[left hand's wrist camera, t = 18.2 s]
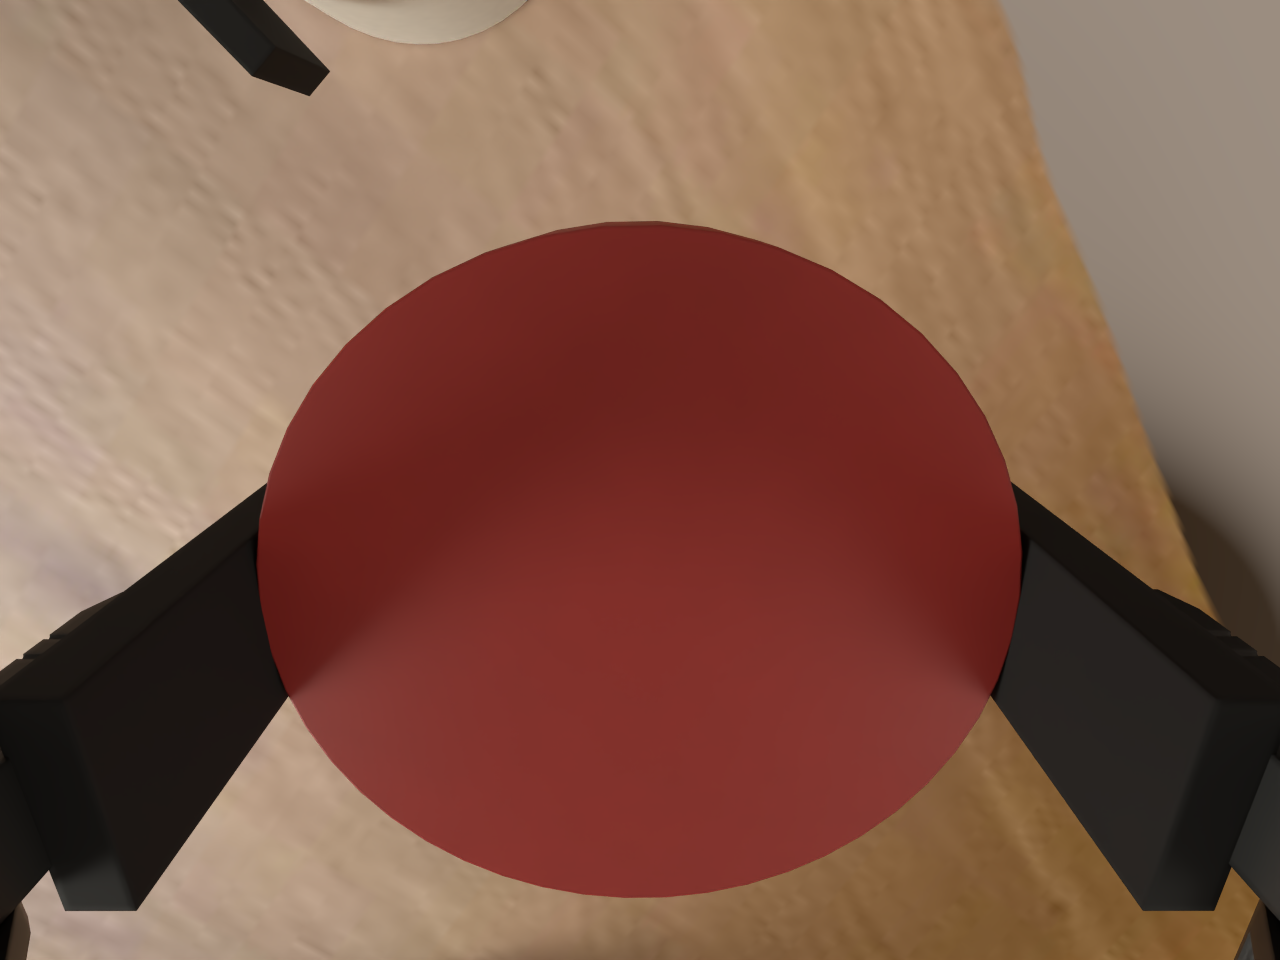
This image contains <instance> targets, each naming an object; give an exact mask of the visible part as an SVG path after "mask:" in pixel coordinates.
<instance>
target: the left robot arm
mask: <svg viewBox="0 0 1280 960" xmlns="http://www.w3.org/2000/svg"><path fill="white" fill-rule="evenodd" d="M1011 485H1012V488H1013V492H1014V496H1015V500H1016V503H1017V508H1018V517H1019V526H1020V536H1021V545H1022V572H1021V595H1020V600H1019V605H1018V610H1017V615H1016V619H1015V624H1014V629H1013V634H1012V638H1011V643H1010V647H1009V650H1008V653H1007V656H1006V659H1005V662H1004V665H1003V667H1002V670H1001V673H1000V676H999V679H998V681H997V683H996V685H995V687H994V689H993V691H992V693H991V697H992V698H993V700H994V701H995V702H996V704H997V705H998V707H999V708H1000V709H1001V711H1002V712H1003V714H1004V715H1005V717H1006V718H1007V719H1008V721H1009V722H1010V724H1011V725H1012V726H1013V728H1014V729H1015V731H1016V732H1017V733H1018V735H1019V736H1020V738H1021V739H1022V741H1023V742H1024V743H1025V745H1026V746H1027V748H1028V749H1029V750H1030V752H1031V753H1032V755H1033V756H1034V757H1035V759H1036V760H1037V762H1038V763H1039V765H1040V766H1041V767H1042V769H1043V770H1044V772H1045V773H1046V774H1047V776H1048V777H1049V779H1050V780H1051V782H1052V783H1053V784H1054V786H1055V787H1056V789H1057V790H1058V791H1059V793H1060V794H1061V796H1062V797H1063V798H1064V800H1065V801H1066V803H1067V804H1068V806H1069V807H1070V808H1071V810H1072V811H1073V813H1074V814H1075V815H1076V817H1077V818H1078V820H1079V821H1080V822H1081V824H1082V825H1083V827H1084V828H1085V830H1086V831H1087V832H1088V834H1089V835H1090V837H1091V838H1092V839H1093V841H1094V842H1095V844H1096V845H1097V846H1098V848H1099V849H1100V851H1101V852H1102V854H1103V855H1104V856H1105V858H1106V859H1107V861H1108V862H1109V863H1110V865H1111V866H1112V868H1113V869H1114V871H1115V872H1116V873H1117V875H1118V876H1119V878H1120V879H1121V880H1122V882H1123V883H1124V885H1125V886H1126V887H1127V889H1128V890H1129V892H1130V893H1131V895H1132V896H1133V897H1134V899H1135V900H1136V902H1137V903H1138V904H1139V906H1140V907H1141V909H1142V910H1143V911H1214V910H1215V907H1216V905H1217V902H1218V900H1219V897H1220V895H1221V892H1222V890H1223V887H1224V885H1225V882H1226V880H1227V877H1228V875H1229V872H1230V870H1231V867H1232V868H1233V869H1234V870H1235V871H1236V872H1237V873H1238V875H1239V876H1240V877H1241V878H1242V879H1243V880H1244V881H1245V882H1246V884H1247V885H1248V886H1249V887H1250V888H1251V889H1252V890H1253V891H1254V893H1255V894H1256V895H1257V896H1258V897H1259V898H1260V900H1259V902H1258V904H1257V907H1256V909H1255V911H1254V914H1253V916H1252V919H1251V921H1250V923H1249V926H1248V928H1247V930H1246V933H1245V935H1244V937H1243V940H1242V942H1241V944H1240V947H1239V949H1238V951H1237V954H1236V956H1235V959H1234V960H1280V668H1279V667H1278V666H1277V665H1275V664H1274V663H1273V662H1271V661H1270V660H1268V659H1267V658H1266V657H1264V656H1258V655H1257V651H1256V650H1255V649H1253V648H1252V647H1251V646H1249V645H1248V644H1247V643H1245V642H1244V641H1242V640H1241V639H1240V638H1238V637H1236V636H1231V634H1230V631H1229V630H1227V629H1226V628H1225V627H1223V626H1222V625H1221V624H1219V623H1218V622H1216V621H1215V620H1214V619H1212V618H1211V617H1210V616H1208V615H1207V614H1205V613H1204V612H1203V611H1201V610H1200V609H1198V608H1196V607H1194V606H1192V605H1190V604H1188V603H1186V602H1183V601H1181V600H1179V599H1177V598H1175V597H1173V596H1171V595H1169V594H1166V593H1164V592H1162V591H1160V590H1158V589H1152V588H1150V587H1149V586H1148V585H1146V584H1145V583H1144V582H1142V581H1141V580H1140V579H1138V578H1137V577H1136V576H1134V575H1133V574H1132V573H1130V572H1129V571H1128V570H1127V569H1125V568H1124V567H1123V566H1121V565H1120V564H1119V563H1117V562H1116V561H1115V560H1113V559H1112V558H1111V557H1109V556H1108V555H1107V554H1105V553H1104V552H1103V551H1102V550H1100V549H1099V548H1098V547H1096V546H1095V545H1094V544H1092V543H1091V542H1090V541H1088V540H1087V539H1086V538H1084V537H1083V536H1082V535H1080V534H1079V533H1078V532H1076V531H1075V530H1074V529H1073V528H1071V527H1070V526H1069V525H1067V524H1066V523H1065V522H1063V521H1062V520H1061V519H1059V518H1058V517H1057V516H1055V515H1054V514H1053V513H1051V512H1050V511H1049V510H1047V509H1046V508H1045V507H1044V506H1042V505H1041V504H1040V503H1038V502H1037V501H1036V500H1034V499H1033V498H1032V497H1030V496H1029V495H1028V494H1026V493H1025V492H1024V491H1022V490H1021V489H1020V488H1018V487H1017V486H1016V485H1015V484H1013V483H1012V482H1011ZM266 487H267V483H266V484H265V485H264V486H262V487H261V488H260V489H258V490H257V491H256V492H254V493H253V494H252V495H250V496H249V497H248V498H247V499H245V500H244V501H243V502H241V503H240V504H239V505H237V506H236V507H235V508H233V509H232V510H231V511H229V512H228V513H227V514H225V515H224V516H223V517H221V518H220V519H219V520H218V521H216V522H215V523H214V524H212V525H211V526H210V527H208V528H207V529H206V530H204V531H203V532H202V533H200V534H199V535H198V536H196V537H195V538H194V539H192V540H191V541H190V542H189V543H187V544H186V545H185V546H183V547H182V548H181V549H179V550H178V551H177V552H175V553H174V554H173V555H171V556H170V557H169V558H167V559H166V560H165V561H163V562H162V563H161V564H160V565H158V566H157V567H156V568H154V569H153V570H152V571H150V572H149V573H148V574H146V575H145V576H144V577H142V578H141V579H140V580H138V581H137V582H136V583H134V584H133V585H132V586H131V587H129V588H128V589H127V590H125V591H124V592H122V593H119V594H117V595H115V596H113V597H111V598H109V599H107V600H105V601H103V602H100V603H98V604H96V605H94V606H92V607H90V608H88V609H86V610H84V611H81V612H80V613H79V614H77V615H76V616H75V617H73V618H72V619H70V620H69V621H68V622H66V623H65V624H64V625H62V626H61V627H60V628H58V629H57V630H55V631H54V632H53V633H51V634H50V638H49V639H43V640H42V641H41V642H39V643H38V644H36V645H35V646H34V647H32V648H31V649H30V650H28V651H27V652H26V653H24V654H23V659H16V660H15V661H13V662H12V663H11V664H9V665H8V666H7V667H5V668H4V669H3V670H1V671H0V960H26V958H27V952H28V946H29V939H30V933H31V932H30V926H29V921H28V916H27V914H26V911H25V909H24V907H23V904H22V902H21V901H22V900H23V899H24V898H25V896H26V895H27V894H28V893H29V892H30V891H31V890H32V888H33V887H34V886H35V885H36V884H37V883H38V882H39V881H40V879H41V878H42V877H43V876H44V875H45V874H46V873H47V871H48V870H49V871H50V874H51V876H52V879H53V881H54V884H55V886H56V889H57V891H58V894H59V896H60V899H61V902H62V904H63V907H64V909H65V911H137V909H138V908H139V907H140V905H141V904H142V902H143V901H144V899H145V898H146V897H147V895H148V894H149V892H150V891H151V890H152V888H153V887H154V885H155V884H156V883H157V881H158V880H159V878H160V877H161V875H162V874H163V873H164V871H165V870H166V868H167V867H168V866H169V864H170V863H171V861H172V860H173V859H174V857H175V856H176V854H177V853H178V851H179V850H180V849H181V847H182V846H183V844H184V843H185V842H186V840H187V839H188V837H189V836H190V834H191V833H192V832H193V830H194V829H195V827H196V826H197V825H198V823H199V822H200V820H201V819H202V818H203V816H204V815H205V813H206V812H207V810H208V809H209V808H210V806H211V805H212V803H213V802H214V801H215V799H216V798H217V796H218V795H219V794H220V792H221V791H222V789H223V788H224V786H225V785H226V784H227V782H228V781H229V779H230V778H231V777H232V775H233V774H234V772H235V771H236V770H237V768H238V767H239V765H240V764H241V762H242V761H243V760H244V758H245V757H246V755H247V754H248V753H249V751H250V750H251V748H252V747H253V746H254V744H255V743H256V741H257V740H258V738H259V737H260V736H261V734H262V733H263V731H264V730H265V729H266V727H267V726H268V724H269V723H270V722H271V720H272V719H273V717H274V716H275V714H276V713H277V712H278V710H279V709H280V707H281V706H282V705H283V703H284V702H285V700H286V699H287V697H288V694H287V692H286V690H285V688H284V685H283V683H282V680H281V677H280V675H279V672H278V670H277V667H276V665H275V662H274V660H273V657H272V653H271V649H270V644H269V639H268V635H267V630H266V626H265V621H264V617H263V612H262V607H261V602H260V596H259V590H258V579H257V567H256V562H257V547H258V531H259V518H260V514H261V509H262V505H263V500H264V496H265V491H266Z"/></svg>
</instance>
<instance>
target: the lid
mask: <svg viewBox="0 0 1280 960" xmlns="http://www.w3.org/2000/svg"><path fill="white" fill-rule="evenodd" d="M256 567H257V579H258V590H259V596H260V602H261V607H262V612H263V617H264V621H265V626H266V630H267V635H268V639H269V644H270V649H271V653H272V657H273V660H274V662H275V665H276V667H277V670H278V672H279V675H280V677H281V680H282V683H283V685H284V688H285V690H286V692H287V694H288V696H289V698H290V699H291V701H292V703H293V705H294V706H295V708H296V710H297V712H298V714H299V715H300V717H301V719H302V721H303V723H304V724H305V726H306V728H307V729H308V731H309V732H310V733H311V735H312V736H313V737H314V739H315V740H316V741H317V743H318V744H319V745H320V747H321V748H322V750H323V751H324V752H325V754H326V755H327V756H328V758H329V759H330V760H331V762H332V763H333V764H334V765H335V766H336V767H337V768H338V769H339V770H340V771H341V772H342V773H343V774H344V775H345V776H346V777H347V778H348V779H349V781H350V782H351V783H352V784H353V785H354V786H355V787H356V788H357V789H358V790H359V791H360V792H361V793H362V794H363V795H365V796H366V797H367V798H368V799H369V800H371V801H372V802H373V803H374V804H375V805H377V806H378V807H379V808H380V809H381V810H383V811H384V812H385V813H386V814H387V815H389V816H390V817H391V818H392V819H394V820H395V821H397V822H398V823H400V824H401V825H403V826H404V827H406V828H407V829H409V830H410V831H412V832H413V833H415V834H416V835H418V836H419V837H421V838H423V839H424V840H426V841H427V842H429V843H431V844H433V845H435V846H437V847H439V848H441V849H443V850H445V851H446V852H448V853H450V854H452V855H454V856H456V857H458V858H460V859H462V860H464V861H466V862H469V863H471V864H474V865H477V866H479V867H482V868H484V869H487V870H489V871H492V872H494V873H497V874H499V875H502V876H505V877H509V878H512V879H516V880H519V881H523V882H527V883H530V884H534V885H537V886H541V887H545V888H551V889H556V890H562V891H567V892H573V893H579V894H585V895H597V896H609V897H622V898H643V897H673V896H682V895H691V894H700V893H708V892H713V891H718V890H723V889H728V888H733V887H737V886H742V885H747V884H751V883H754V882H757V881H760V880H763V879H767V878H770V877H773V876H776V875H779V874H783V873H786V872H789V871H791V870H793V869H796V868H798V867H800V866H803V865H805V864H807V863H810V862H812V861H814V860H817V859H819V858H821V857H824V856H826V855H828V854H830V853H831V852H833V851H835V850H837V849H839V848H840V847H842V846H844V845H846V844H848V843H850V842H851V841H853V840H855V839H857V838H859V837H860V836H862V835H864V834H865V833H866V832H868V831H869V830H871V829H872V828H873V827H875V826H876V825H878V824H879V823H881V822H882V821H883V820H885V819H886V818H888V817H889V816H890V815H892V814H893V813H895V812H896V811H897V810H898V809H900V808H901V807H902V806H903V805H904V804H905V803H906V802H907V801H909V800H910V799H911V798H912V797H913V796H914V795H915V794H916V793H918V792H919V791H920V790H921V789H922V788H923V787H924V786H925V785H927V784H928V782H929V781H930V780H931V779H932V778H933V777H934V776H935V775H936V773H937V772H938V771H939V770H940V769H941V768H942V767H943V766H944V764H945V763H946V762H947V761H948V760H949V759H950V758H951V757H952V755H953V754H954V753H955V752H956V750H957V749H958V748H959V746H960V745H961V743H962V742H963V740H964V739H965V737H966V736H967V734H968V733H969V731H970V730H971V729H972V727H973V726H974V724H975V723H976V721H977V720H978V718H979V717H980V715H981V713H982V711H983V709H984V707H985V705H986V703H987V701H988V699H989V697H990V695H991V693H992V691H993V689H994V687H995V685H996V683H997V681H998V679H999V676H1000V673H1001V670H1002V667H1003V665H1004V662H1005V659H1006V656H1007V653H1008V650H1009V647H1010V643H1011V638H1012V634H1013V629H1014V624H1015V619H1016V615H1017V610H1018V605H1019V600H1020V595H1021V572H1022V545H1021V536H1020V526H1019V517H1018V508H1017V503H1016V500H1015V496H1014V492H1013V488H1012V485H1011V481H1010V477H1009V474H1008V470H1007V466H1006V463H1005V460H1004V457H1003V455H1002V453H1001V451H1000V448H999V446H998V444H997V442H996V439H995V437H994V435H993V433H992V430H991V428H990V426H989V424H988V421H987V419H986V417H985V415H984V414H983V412H982V411H981V409H980V407H979V406H978V404H977V403H976V401H975V400H974V398H973V397H972V395H971V394H970V392H969V390H968V389H967V387H966V386H965V384H964V383H963V381H962V380H961V378H960V377H959V375H958V374H957V372H956V371H955V370H954V369H953V368H952V367H951V366H950V365H949V363H948V362H947V361H946V360H945V359H944V358H943V357H942V356H941V354H940V353H939V352H938V351H937V350H936V349H935V348H934V347H933V345H932V344H931V343H930V342H929V341H928V340H927V339H926V338H925V337H924V335H923V334H922V333H920V332H919V331H918V330H917V329H916V328H914V327H913V326H912V325H911V324H910V323H908V322H907V321H906V320H905V319H904V318H902V317H901V316H900V315H899V314H897V313H896V312H895V311H894V310H893V309H891V308H890V307H889V306H888V305H887V304H885V303H884V302H883V301H882V300H881V299H879V298H877V297H876V296H874V295H872V294H871V293H869V292H868V291H866V290H864V289H863V288H861V287H859V286H858V285H856V284H854V283H853V282H851V281H849V280H848V279H846V278H844V277H843V276H841V275H839V274H838V273H836V272H834V271H833V270H831V269H829V268H826V267H824V266H821V265H819V264H817V263H814V262H812V261H810V260H807V259H805V258H803V257H800V256H798V255H795V254H793V253H791V252H788V251H786V250H784V249H781V248H779V247H776V246H773V245H770V244H767V243H764V242H761V241H758V240H754V239H751V238H747V237H743V236H739V235H735V234H732V233H728V232H724V231H720V230H717V229H713V228H709V227H702V226H694V225H686V224H677V223H669V222H661V221H638V222H605V223H598V224H592V225H586V226H580V227H573V228H567V229H561V230H556V231H553V232H549V233H546V234H543V235H540V236H536V237H533V238H530V239H527V240H523V241H520V242H517V243H514V244H510V245H507V246H504V247H501V248H498V249H495V250H492V251H489V252H486V253H483V254H481V255H479V256H477V257H475V258H473V259H470V260H468V261H466V262H464V263H462V264H460V265H458V266H456V267H453V268H451V269H449V270H447V271H445V272H443V273H441V274H439V275H437V276H434V277H432V278H431V279H429V280H428V281H426V282H425V283H423V284H422V285H420V286H419V287H417V288H416V289H414V290H413V291H411V292H410V293H408V294H407V295H405V296H404V297H402V298H401V299H399V300H398V301H396V302H395V303H393V304H392V305H390V306H389V307H387V308H386V309H385V310H383V311H382V312H381V313H380V314H379V315H378V316H377V317H376V318H375V319H373V320H372V321H371V322H370V323H369V324H368V325H367V326H366V327H365V328H363V329H362V330H361V331H360V332H359V333H358V334H357V335H356V336H355V337H353V338H352V339H351V340H350V341H349V342H348V343H347V344H346V345H345V346H344V347H343V348H342V350H341V351H340V352H339V353H338V355H337V356H336V357H335V358H334V359H333V361H332V362H331V363H330V364H329V366H328V367H327V368H326V369H325V370H324V372H323V373H322V374H321V375H320V377H319V378H318V379H317V380H316V381H315V383H314V384H313V385H312V387H311V389H310V390H309V392H308V394H307V395H306V397H305V399H304V401H303V402H302V404H301V406H300V407H299V409H298V411H297V412H296V414H295V416H294V418H293V419H292V421H291V423H290V424H289V426H288V428H287V430H286V433H285V435H284V438H283V440H282V443H281V445H280V448H279V450H278V453H277V455H276V458H275V461H274V463H273V466H272V468H271V471H270V473H269V478H268V482H267V487H266V491H265V496H264V500H263V505H262V509H261V514H260V518H259V531H258V547H257V562H256Z"/></svg>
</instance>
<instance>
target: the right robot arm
mask: <svg viewBox="0 0 1280 960" xmlns="http://www.w3.org/2000/svg"><path fill="white" fill-rule="evenodd" d="M178 1H179V2H180V3H181V4H182V5H183V6H184V7H185V8H186V9H187V10H188V11H189V12H190V13H191V14H192V15H193V16H194V17H195V18H196V19H197V20H198V21H199V22H200V23H201V24H202V25H203V26H204V27H205V28H206V30H207V31H208V32H209V33H210V34H211V35H212V36H213V37H214V38H215V39H216V40H217V41H218V42H219V43H220V44H221V45H222V46H223V47H224V48H225V49H226V50H227V51H228V52H229V53H230V54H231V55H232V56H233V57H234V58H235V59H236V60H237V61H238V62H239V63H240V64H241V65H242V66H243V67H244V68H245V69H246V71H247V72H248V73H249V74H250V75H251V76H253V77H256V78H259V79H262V80H265V81H267V82H270V83H273V84H276V85H279V86H282V87H285V88H288V89H290V90H293V91H296V92H299V93H302V94H305V95H308V96H310V95H311V94H312V93H313V91H314V90H315V89H316V88H317V87H318V85H319V84H320V83H321V82H322V81H323V79H324V78H325V77H326V76H327V75H328V73H329V72H330V71H329V70H328V69H327V68H326V66H325V65H324V64H323V63H322V62H321V61H320V60H319V59H318V58H317V57H316V56H315V55H314V54H313V53H312V52H311V51H310V49H309V48H308V47H307V46H306V45H305V44H304V43H303V42H302V41H301V40H300V39H299V38H298V37H297V36H296V35H295V34H294V32H293V31H292V30H291V29H290V28H289V27H288V26H287V25H286V24H285V23H284V22H283V21H282V20H281V19H280V18H279V17H278V15H277V14H276V13H275V12H274V11H273V10H272V9H271V8H270V7H269V6H268V5H267V4H266V3H265V2H264V1H263V0H178Z"/></svg>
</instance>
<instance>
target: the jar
mask: <svg viewBox="0 0 1280 960" xmlns="http://www.w3.org/2000/svg"><path fill="white" fill-rule="evenodd" d="M305 1H307V2H308V3H310V4H311V5H313V6H314V7H316V8H318V9H319V10H321V11H322V12H324V13H326V14H327V15H329V16H331V17H332V18H334V19H336V20H338V21H339V22H341V23H343V24H345V25H347V26H348V27H350V28H353V29H355V30H358V31H360V32H363V33H365V34H367V35H370V36H373V37H377V38H381V39H384V40H388V41H392V42H398V43H408V44H440V43H445V42H450V41H455V40H460V39H464V38H466V37H469V36H472V35H474V34H477V33H480V32H483V31H485V30H486V29H488V28H490V27H492V26H494V25H495V24H497V23H499V22H501V21H503V20H504V19H505V18H507V17H508V16H509V15H511V14H512V13H513V12H515V11H516V10H517V9H519V8H520V7H521V6H522V5H523V4H524V3H525V2H526V1H527V0H305Z"/></svg>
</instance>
